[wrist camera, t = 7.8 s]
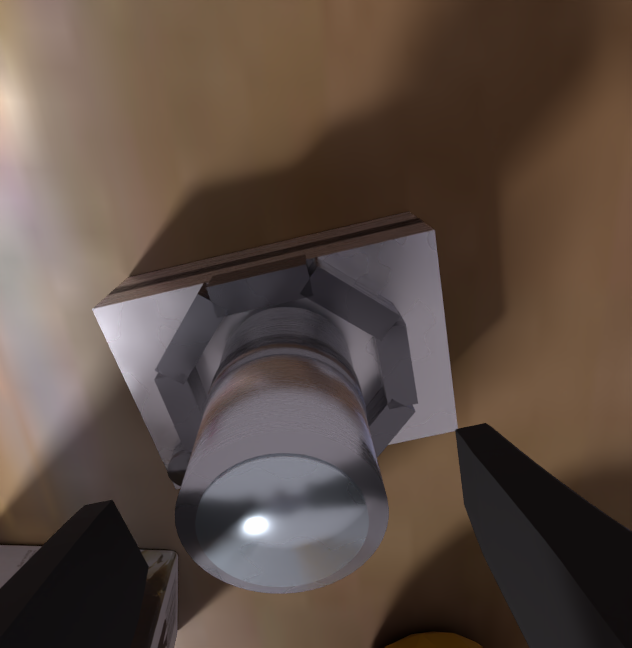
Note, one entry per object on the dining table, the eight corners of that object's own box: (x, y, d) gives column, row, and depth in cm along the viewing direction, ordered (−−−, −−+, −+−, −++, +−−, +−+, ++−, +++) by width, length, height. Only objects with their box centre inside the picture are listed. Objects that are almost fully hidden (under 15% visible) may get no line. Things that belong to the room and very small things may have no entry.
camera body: (408, 207, 15) (445, 232, 11) (433, 387, 18) (468, 453, 14) (125, 273, 16) (74, 318, 12) (194, 438, 18) (169, 515, 15)
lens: (346, 297, 13) (387, 423, 7) (357, 413, 15) (397, 588, 9) (207, 314, 13) (143, 453, 7) (234, 428, 15) (198, 613, 9)
